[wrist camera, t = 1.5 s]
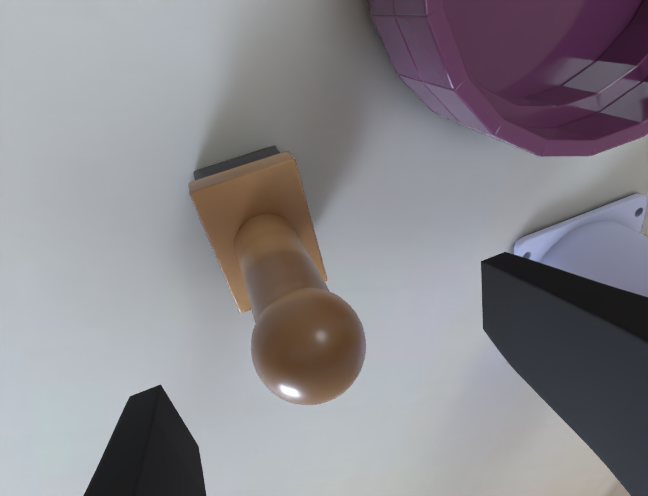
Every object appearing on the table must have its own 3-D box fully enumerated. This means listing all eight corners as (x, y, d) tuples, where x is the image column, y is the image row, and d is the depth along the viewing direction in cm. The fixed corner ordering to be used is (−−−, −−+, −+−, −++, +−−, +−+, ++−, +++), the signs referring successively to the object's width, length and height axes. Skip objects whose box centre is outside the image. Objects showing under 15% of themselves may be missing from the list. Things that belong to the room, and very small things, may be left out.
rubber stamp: (310, 250, 19) (412, 425, 11) (231, 279, 19) (279, 484, 11) (278, 138, 17) (383, 261, 9) (185, 167, 16) (203, 329, 8)
